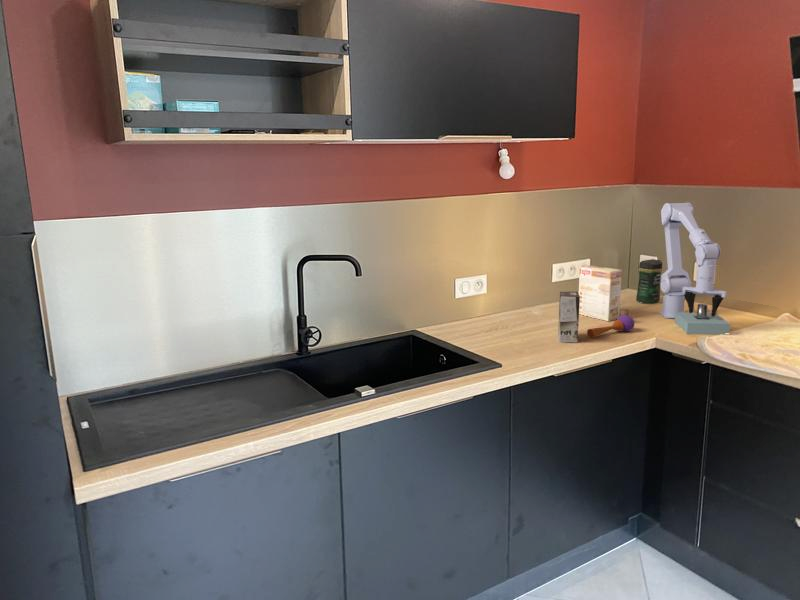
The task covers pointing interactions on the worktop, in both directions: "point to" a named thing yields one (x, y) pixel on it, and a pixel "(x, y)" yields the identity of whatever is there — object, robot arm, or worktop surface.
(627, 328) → the kendama
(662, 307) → the robot arm
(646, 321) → the worktop surface
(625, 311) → the short pin
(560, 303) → the coffee box
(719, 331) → the hole block
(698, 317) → the long pin
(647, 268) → the coffee jar
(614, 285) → the coffeecake box
